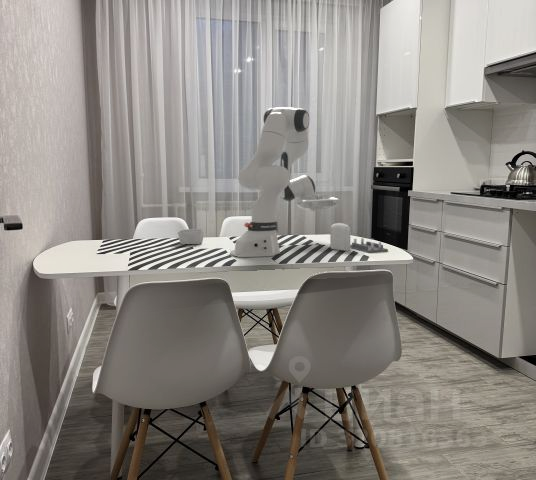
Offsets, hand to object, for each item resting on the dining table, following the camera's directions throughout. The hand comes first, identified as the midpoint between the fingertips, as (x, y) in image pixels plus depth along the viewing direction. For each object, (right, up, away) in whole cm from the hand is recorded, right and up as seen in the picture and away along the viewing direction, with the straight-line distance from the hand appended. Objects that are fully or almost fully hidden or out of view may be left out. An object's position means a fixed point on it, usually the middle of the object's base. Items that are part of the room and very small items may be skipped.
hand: (327, 204), depth 227 cm
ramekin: (-68, -19, +14) cm, 72 cm away
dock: (+18, -21, -8) cm, 29 cm away
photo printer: (+5, -22, -9) cm, 24 cm away
